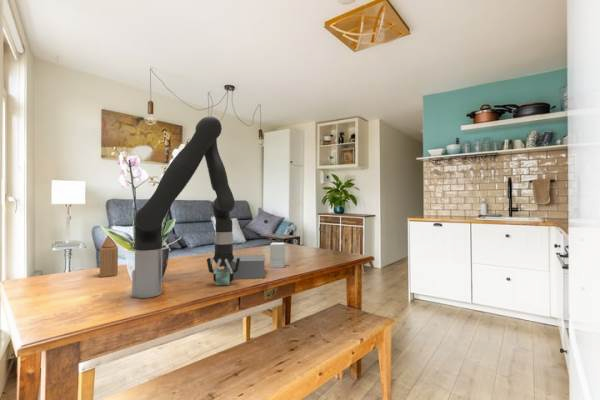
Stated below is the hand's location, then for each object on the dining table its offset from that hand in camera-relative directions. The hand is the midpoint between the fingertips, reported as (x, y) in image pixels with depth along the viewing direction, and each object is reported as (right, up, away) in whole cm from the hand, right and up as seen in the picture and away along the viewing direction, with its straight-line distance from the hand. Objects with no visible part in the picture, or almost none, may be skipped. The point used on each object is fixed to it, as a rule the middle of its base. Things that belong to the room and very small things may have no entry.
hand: (223, 281), depth 127 cm
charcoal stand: (+6, -1, +17) cm, 18 cm away
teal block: (0, -1, 0) cm, 1 cm away
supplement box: (+21, -1, +34) cm, 40 cm away
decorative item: (-58, -1, +14) cm, 59 cm away
